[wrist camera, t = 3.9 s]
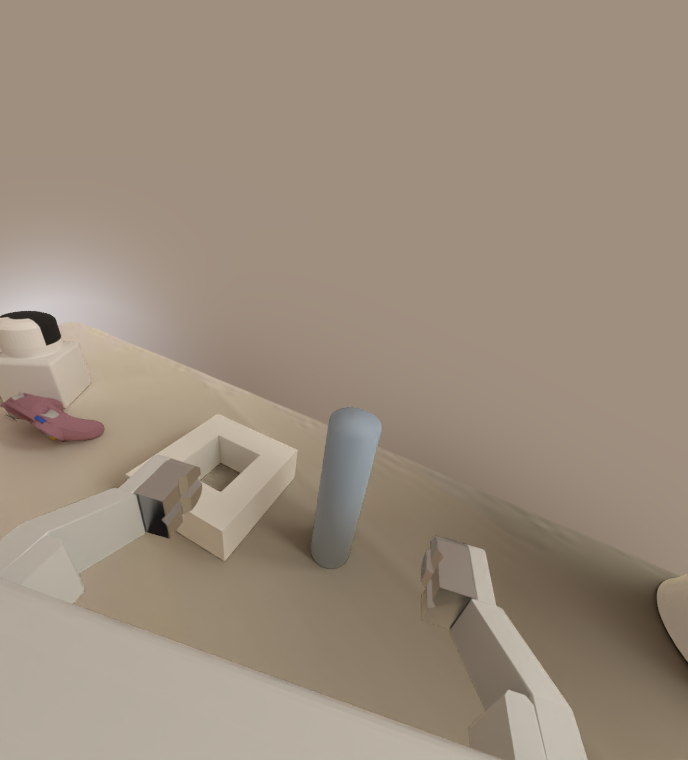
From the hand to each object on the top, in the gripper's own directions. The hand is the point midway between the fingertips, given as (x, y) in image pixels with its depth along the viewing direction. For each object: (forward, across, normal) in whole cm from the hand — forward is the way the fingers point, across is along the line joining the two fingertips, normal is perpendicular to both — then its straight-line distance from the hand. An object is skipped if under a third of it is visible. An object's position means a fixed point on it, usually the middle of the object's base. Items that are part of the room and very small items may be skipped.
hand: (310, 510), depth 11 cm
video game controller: (+17, +36, +22) cm, 46 cm away
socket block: (+15, +13, +21) cm, 29 cm away
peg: (+12, 0, +21) cm, 24 cm away
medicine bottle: (+23, +44, +22) cm, 54 cm away
